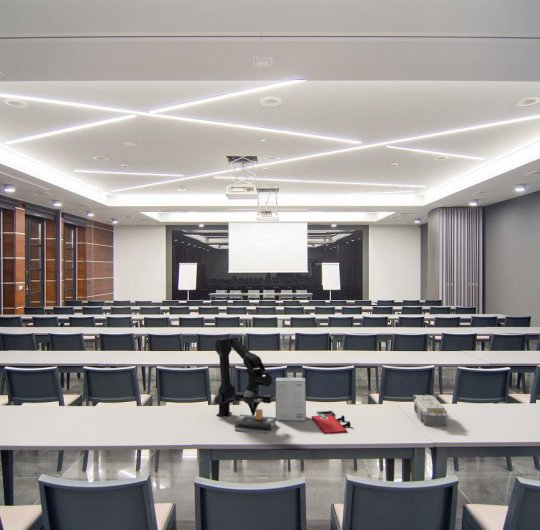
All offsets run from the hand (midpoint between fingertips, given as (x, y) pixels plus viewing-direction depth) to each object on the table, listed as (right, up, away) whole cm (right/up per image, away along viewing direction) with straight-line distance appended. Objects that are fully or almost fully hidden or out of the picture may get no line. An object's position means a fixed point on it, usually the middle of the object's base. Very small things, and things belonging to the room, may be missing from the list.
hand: (253, 415), depth 203 cm
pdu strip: (+1, -5, 0) cm, 5 cm away
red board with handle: (+38, -6, +6) cm, 39 cm away
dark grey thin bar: (-1, -5, -7) cm, 8 cm away
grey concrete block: (+89, -6, +9) cm, 90 cm away
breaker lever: (+3, -1, -1) cm, 3 cm away
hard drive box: (+19, -6, +11) cm, 23 cm away
